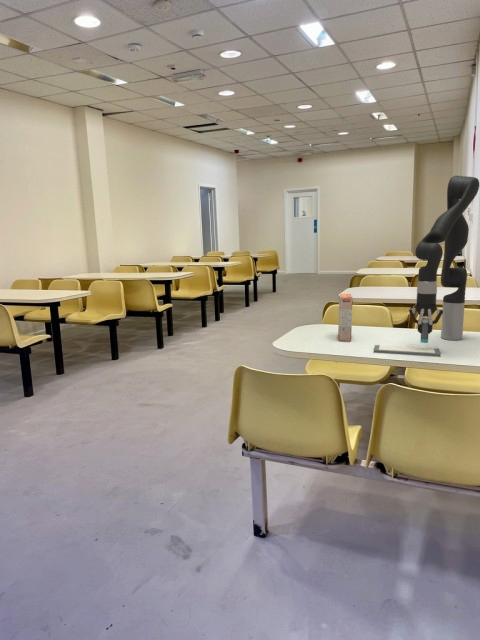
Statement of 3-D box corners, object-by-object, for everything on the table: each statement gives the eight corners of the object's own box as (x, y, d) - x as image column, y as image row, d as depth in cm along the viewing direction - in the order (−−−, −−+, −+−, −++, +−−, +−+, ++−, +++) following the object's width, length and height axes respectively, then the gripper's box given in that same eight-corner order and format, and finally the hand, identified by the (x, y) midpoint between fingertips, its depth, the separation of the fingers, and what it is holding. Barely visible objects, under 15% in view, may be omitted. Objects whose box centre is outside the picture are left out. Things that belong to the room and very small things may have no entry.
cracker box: (352, 341, 218) (353, 297, 214) (338, 341, 219) (339, 297, 215) (350, 335, 231) (351, 293, 228) (338, 335, 232) (338, 293, 229)
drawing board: (375, 347, 206) (375, 344, 206) (438, 350, 197) (439, 348, 197) (373, 352, 197) (373, 349, 197) (440, 356, 188) (440, 353, 188)
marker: (420, 341, 197) (421, 317, 196) (427, 341, 196) (429, 318, 195) (420, 342, 195) (421, 319, 193) (428, 343, 194) (429, 319, 192)
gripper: (444, 291, 193) (442, 332, 196) (408, 290, 198) (406, 330, 201) (446, 293, 186) (443, 335, 189) (408, 292, 191) (406, 334, 194)
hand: (424, 332), depth 195 cm, fingers closed on marker, 3 cm apart
